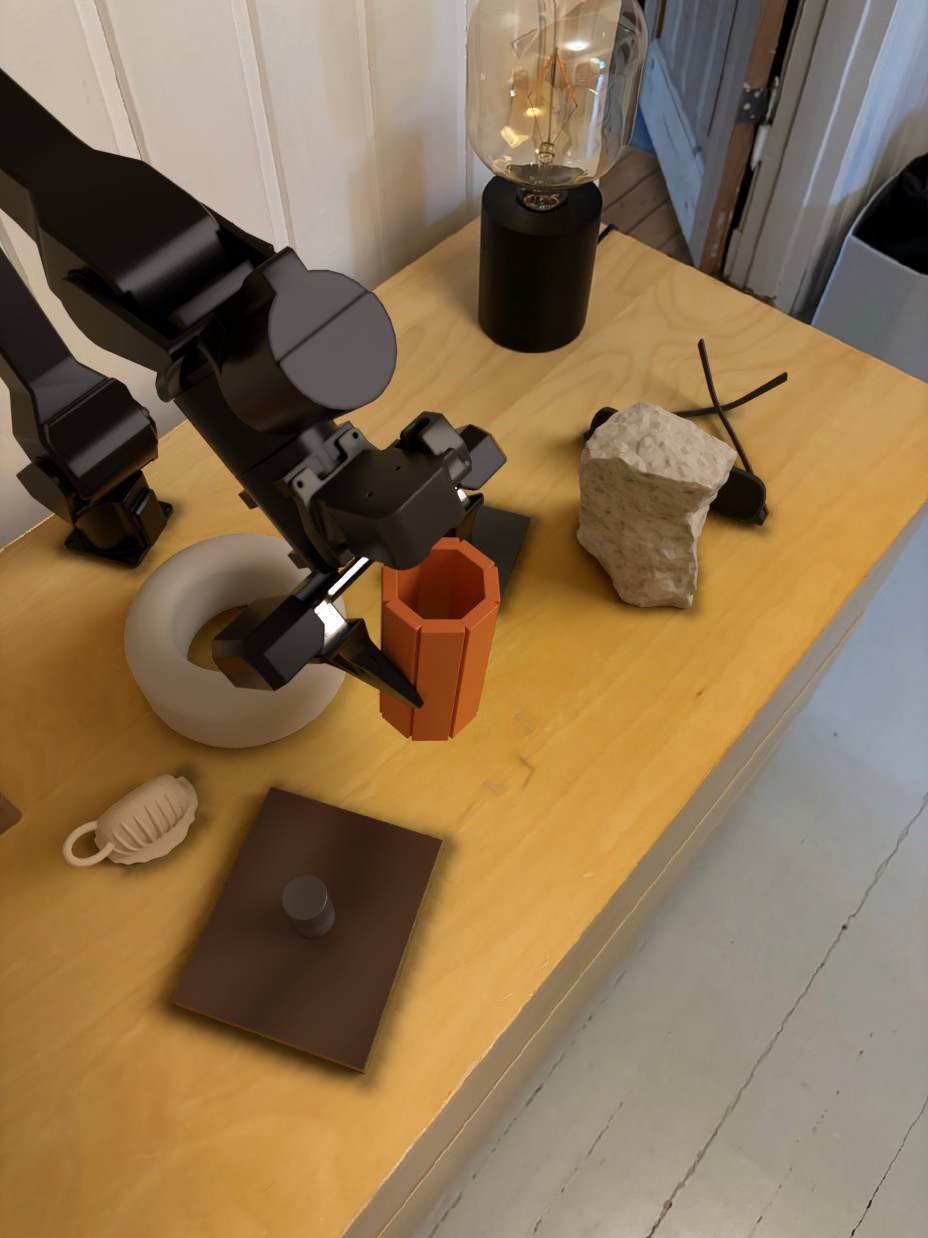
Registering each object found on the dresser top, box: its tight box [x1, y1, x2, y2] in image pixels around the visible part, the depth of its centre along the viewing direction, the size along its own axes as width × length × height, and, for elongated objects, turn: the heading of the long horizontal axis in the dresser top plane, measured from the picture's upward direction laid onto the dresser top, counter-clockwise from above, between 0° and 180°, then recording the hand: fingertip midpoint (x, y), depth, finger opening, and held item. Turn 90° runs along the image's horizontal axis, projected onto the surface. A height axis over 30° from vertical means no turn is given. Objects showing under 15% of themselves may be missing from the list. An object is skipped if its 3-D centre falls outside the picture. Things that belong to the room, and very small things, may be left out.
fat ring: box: [123, 532, 348, 749], centre depth 66 cm, size 15×15×7 cm
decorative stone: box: [575, 400, 738, 610], centre depth 68 cm, size 10×9×15 cm
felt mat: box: [472, 504, 531, 604], centre depth 74 cm, size 9×9×1 cm
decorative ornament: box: [61, 773, 199, 868], centre depth 59 cm, size 4×8×5 cm, turn 129°
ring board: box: [171, 786, 445, 1075], centre depth 56 cm, size 12×14×6 cm
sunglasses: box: [582, 338, 789, 527], centre depth 78 cm, size 17×14×5 cm
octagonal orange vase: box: [378, 538, 501, 742], centre depth 53 cm, size 6×6×12 cm
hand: (453, 667), depth 53 cm, fingers closed on octagonal orange vase, 6 cm apart
